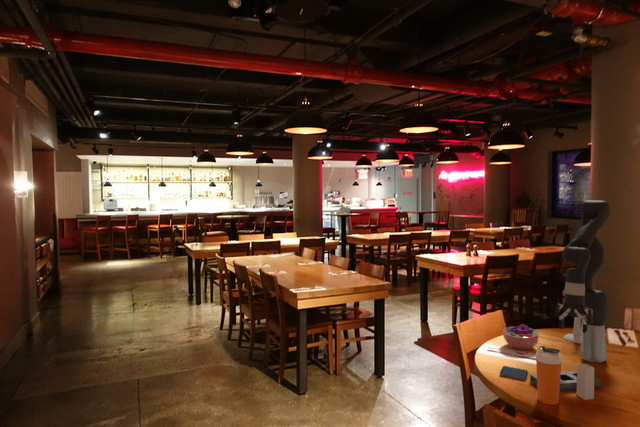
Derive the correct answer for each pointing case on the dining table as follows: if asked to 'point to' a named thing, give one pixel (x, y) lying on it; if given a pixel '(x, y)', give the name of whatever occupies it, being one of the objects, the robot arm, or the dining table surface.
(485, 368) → the dining table surface
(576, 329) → the candlestick
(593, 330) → the robot arm
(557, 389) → the shaker bottle
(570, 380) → the grey slotted frame
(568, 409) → the dining table surface
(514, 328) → the cell model
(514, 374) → the woven mat
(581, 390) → the peg
